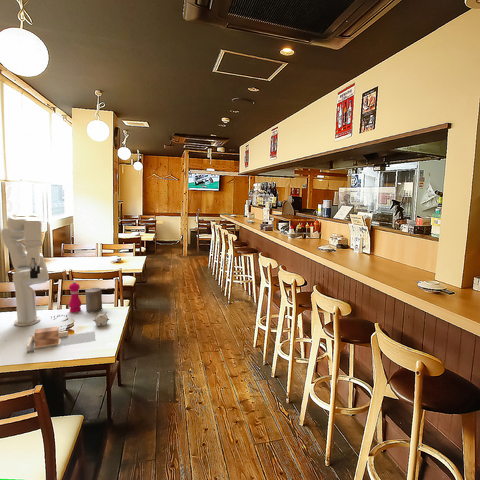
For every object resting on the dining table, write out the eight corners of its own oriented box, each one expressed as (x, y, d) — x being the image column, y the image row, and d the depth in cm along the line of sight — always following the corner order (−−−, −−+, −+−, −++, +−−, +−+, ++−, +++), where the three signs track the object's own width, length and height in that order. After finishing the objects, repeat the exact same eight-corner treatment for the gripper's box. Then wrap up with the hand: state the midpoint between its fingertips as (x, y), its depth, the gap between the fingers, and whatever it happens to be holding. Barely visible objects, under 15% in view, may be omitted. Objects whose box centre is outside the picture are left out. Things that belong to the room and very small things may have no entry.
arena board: (30, 342, 166) (30, 335, 165) (94, 333, 179) (94, 327, 178) (27, 353, 155) (26, 346, 155) (95, 342, 168) (95, 336, 168)
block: (58, 339, 168) (58, 326, 167) (58, 343, 164) (57, 330, 163) (36, 342, 164) (35, 329, 163) (35, 346, 159) (34, 333, 158)
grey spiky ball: (103, 333, 187) (101, 324, 180) (90, 327, 188) (89, 318, 181) (113, 321, 193) (112, 312, 186) (101, 315, 194) (99, 306, 187)
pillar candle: (105, 308, 216) (104, 286, 214) (95, 313, 207) (94, 290, 205) (93, 306, 219) (92, 285, 217) (82, 311, 210) (81, 289, 207)
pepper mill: (78, 308, 215) (77, 278, 212) (83, 310, 210) (82, 281, 208) (67, 310, 209) (65, 280, 206) (72, 313, 205) (70, 283, 202)
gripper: (27, 241, 171) (29, 272, 173) (22, 246, 156) (24, 280, 158) (43, 240, 174) (45, 271, 177) (40, 245, 159) (42, 279, 161)
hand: (35, 275), depth 167 cm, fingers open, 9 cm apart
